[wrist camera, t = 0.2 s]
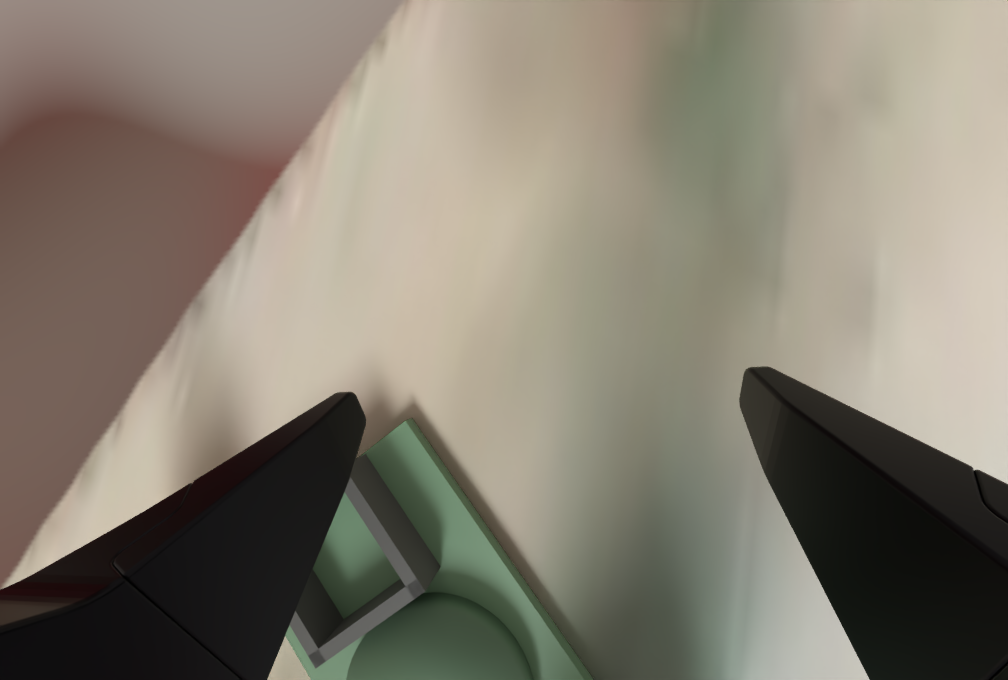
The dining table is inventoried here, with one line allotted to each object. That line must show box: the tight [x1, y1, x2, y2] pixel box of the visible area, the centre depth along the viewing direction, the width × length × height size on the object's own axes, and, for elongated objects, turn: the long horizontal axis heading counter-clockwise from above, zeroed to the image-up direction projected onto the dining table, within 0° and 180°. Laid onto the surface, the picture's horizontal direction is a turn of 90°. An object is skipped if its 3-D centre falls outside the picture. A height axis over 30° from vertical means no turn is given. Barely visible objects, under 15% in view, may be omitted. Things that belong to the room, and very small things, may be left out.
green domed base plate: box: [285, 418, 594, 680], centre depth 23 cm, size 20×15×4 cm
